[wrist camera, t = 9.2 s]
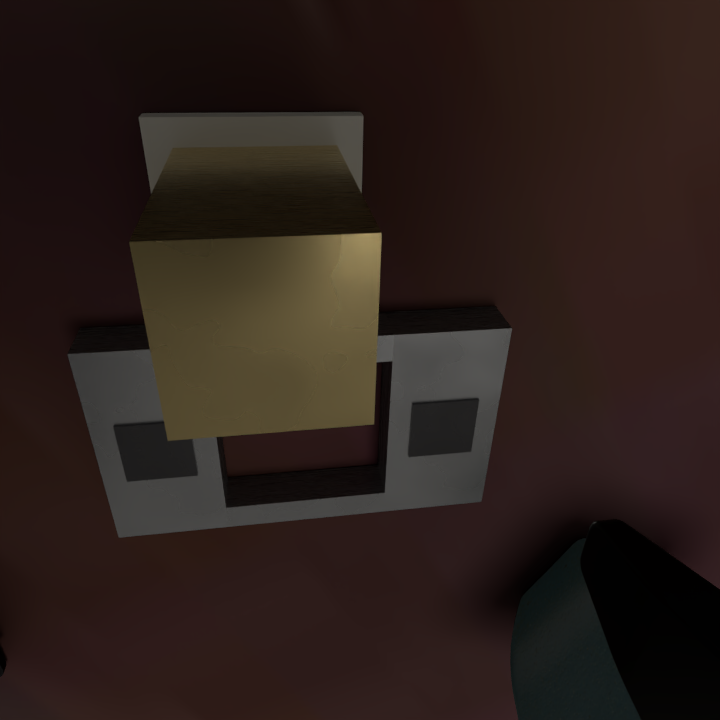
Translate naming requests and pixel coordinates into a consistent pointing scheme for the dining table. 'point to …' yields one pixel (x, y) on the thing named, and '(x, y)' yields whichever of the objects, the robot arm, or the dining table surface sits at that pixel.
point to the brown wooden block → (259, 291)
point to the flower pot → (564, 651)
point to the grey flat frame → (307, 488)
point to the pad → (251, 134)
